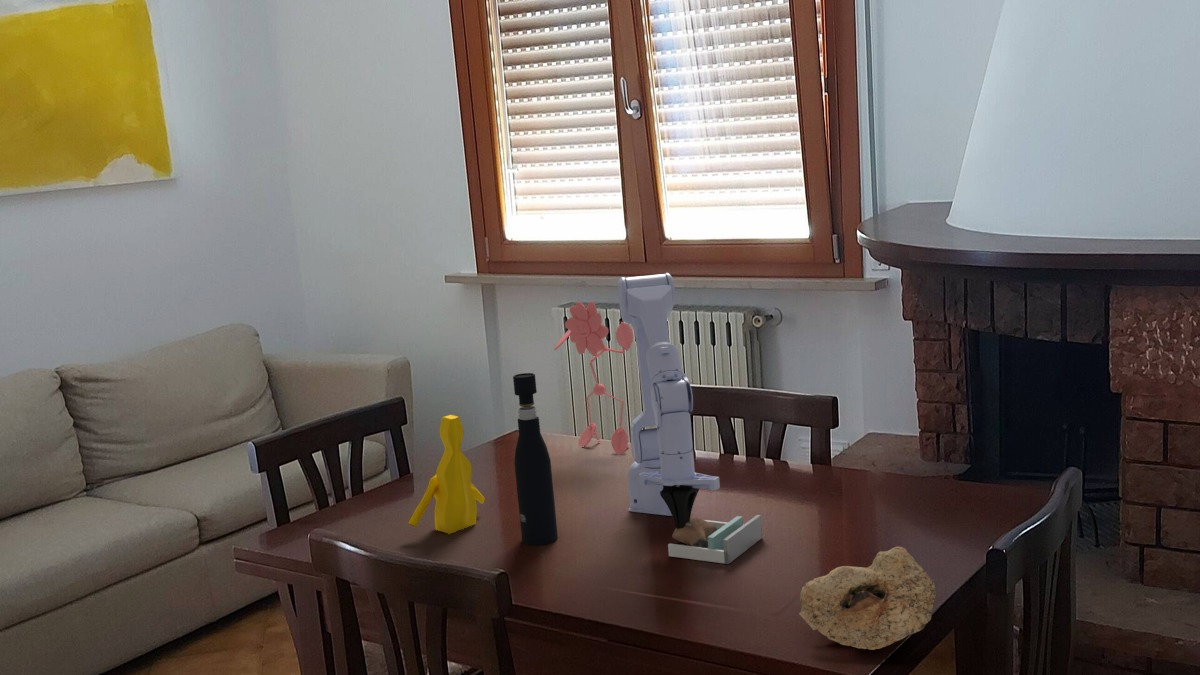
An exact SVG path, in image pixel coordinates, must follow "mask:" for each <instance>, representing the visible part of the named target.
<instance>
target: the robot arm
mask: <svg viewBox="0 0 1200 675" xmlns="http://www.w3.org/2000/svg"><path fill="white" fill-rule="evenodd" d="M674 283H675V282H674V279H673V276H672V275H671V274H670V273H669V272H665V273H663V274H662V273H660V274H650V275H639V276H631V277H623V276H621V277H620V278H619V280H617V296H618V303H619V311H620V312H619V314H620V317H621V318H622V319H621V320H622V321H621V322H624V323H626V324H628V325H629V324H630V325H631V328H632V331H633V334H634V337H635V345H636V355H637V364H638V373H639V374H638V375H639V384H640V389H641V390H640V392H641V400H642V401H641V402H642V409H643V410H642V412H641V413H640V414H639V415H637V416H636V417H635V418H634V419H633V420H632V421H631V423H630V424H631V425H630V447H631V455H632V458H633V461H634V462H633V463H632V464H631V465H630V467H629V469H628V470H629V471H628V474H627V475H628V476H627V479H628V480H627V481H628V482H627V483H628V492H629V493H628V494H629V506H630V507H629V508H628V511H629V512H630V513H631V512H633V513H642V514H649V515H650V514H651V515H657V516H659V515H660V516H667V517H668V516H669V517H672V519H673V522H674V525H675V529H679V528H684V526H685V524H686V523H687V522H689V521H690V519H691V515H692V510H693V506H694V504H695V500H696V498H697V496H698V493H699V491H700V490H709V491H711V492H715V491H717V490H719V489H720V488H721V484H720V476H715V475H714V476H713V475H708V474H704V473H698V472H696V470H695V469H696V468H695V459H694V447H693V446H694V445H693V433H692V432H693V431H692V422H691V421H692V420H691V413H692V412H693V410H694V408H693V407H694V398H693V396H694V395H693V389H692V386H691V382H690V380H689V378H688V377H687V374H686V373H684V369H683V365H682V361H681V358H680V357H681V356H680V353H679V352H680V351H679V349H678V347H676V346H675V345H674V344H672V343H670V334H669V327H668V326H669V325H668V318H670V317H671V314H672V311H673V308H674V304H675V302H676V289H675V284H674ZM654 426H656V427H655V428H648V427H654ZM644 428H645V429H644ZM646 428H647V429H646Z"/></svg>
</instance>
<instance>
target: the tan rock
mask: <svg viewBox="0 0 1200 675" xmlns="http://www.w3.org/2000/svg"><path fill="white" fill-rule="evenodd" d="M799 593H800V594H799V596H800V598H799V601H800V605H801V609H800V612H799V613H798V614H799V616H800V617H802V619H803V620H804V621H805V622H806V624H808V626H809V627H810V628H811V629H812V630H813V631H816V630H817V631H818V632H819V633H821V634H822V635H823V636H825V637H827V639H828V640H830V641H834V642H835V643H838V644H840V645H842V646H847V647H850V646H851V647H853V648H857V649H863V650H866V649H868V650H870V651H871V650H873V651H876V650H877V649H878V650H879V649H882V648H885V647H886V648H887V647H888V646H890V645H893V644H894V643H896V642H898V641H901V640H903V639H904V638H906V637H908V636H909V635H912V634H916V633H918V632H920V631H922V630H924V629H925V627H926V626H927V624H928V623H929V622H930V621H931V620H932V613H933V609H934V603H935V598H936V596H937V592H936V584H935V582H934V580H933V579H932V578H931V577H930V575H928V574H927V572H926V570H925V569H924V568H923V567H922V566H921V565H919V564H918V562H917V561H915V558H914V557H913V556H912V555H911V554H910V553H909V552H908V551H907V549H906V548H905V547H902V546H895V547H893V548H891V549H889V550H885V551H879V552H877V553H876V555H875V557H874V559H873V560H872V564H870V565H869V566H867V567H863V566H862V567H861V566H850V565H843V566H842V565H841V566H838V567H835V568H834V569H832V570H830V572H829V573H827V574H826V575H822V576H818V577H816V578H815V577H814V578H813V580H811V579H810V580H808V581H806V582H805V585H804V586H802V588H801V590H800V592H799Z"/></svg>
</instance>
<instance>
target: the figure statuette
mask: <svg viewBox="0 0 1200 675" xmlns="http://www.w3.org/2000/svg"><path fill="white" fill-rule="evenodd" d="M464 432H465V431H464V426H463V423H462V421H461V419H460V416H457V415H454V414H448V415H446V416H445V415H444V416H442V417H441V420H440V425H439V432H438V433H439V438H440V439H441V442H442V444H443V446H444V451H443V454H442V456H441V459H440V461H439V463H438V465H437V468H436V471H435V472H436V473H435V474H434V475H433V476H432V477H431V478H430V479H429V483H428V485H427V487H426V491H425V492H424V495H423V497H422V499H420V501H419V504H418V505H417V506H416V508H415V510H414V512H413V514H412V516H411V517H410V519H409V521H408V523H407V524H408V525H410V526H413V527H415V528H417V526H418V525H419V523H420V521H421V519H422V517H423V515H424V513H425V511H426V510H427V508H428V506H429V505H430V503H431V501H432V500H433V498H434V499H435V506H434V527H435V528H434V530H435V531H437V530H438V532H442V533H445V534H447V533H448V534H447V535H451V534H450V533H452V532H455V531H458V530H461V529H463V530H465V529H464V528H466V529H468V528H467V527H469V526H471V525H473V524H475V525H476V523H477V516H478V507H477V506H478V505H477V502H479V503H480V504H482V505H484V502H485V500H486V498H485V496H484V495H482V493H481V492H480V491H479V490H478V489H477V487H476V486H475V485H474V484H473V483H472V472H473V471H472V470H473V469H472V467H473V466H472V464H471V462H470V460H469V459H468V458H467V457H466V455H465V454H464V453H463V452H462V449H461V447H462V443H463V438H464ZM471 527H472V526H471ZM469 528H470V527H469ZM461 531H462V530H461ZM458 532H459V531H458ZM455 533H456V532H455Z"/></svg>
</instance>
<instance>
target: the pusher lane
mask: <svg viewBox="0 0 1200 675" xmlns="http://www.w3.org/2000/svg"><path fill="white" fill-rule="evenodd" d="M704 520H705V521H707V522H709V523H710V524H711V525H714V526H715V527H716V528H717V530H718V529H720V528H721V527H723V526H724V525H725V524H727V523H728V522H726V521H718V520H717V521H716V520H710V519H704ZM762 523H763V522H762V514H756V515H755V516H754V517H752V518H751V519H750V520H748V521H747V522H745V523H743V526H741V527H740V528H738V529H737V530H736V531H734V532H733V533H732V534H730V535H729V536H728V537H726V538H725V539H723V548H724V550H718V549H710V548H708V547H706V548H702V547H694V546H691V545H687V544H686V545H685V544H676V543H668V544H667V548H668V550H667V551H668V557H673V558H681V559H690V560H696V561H703V562H712V563H719V564H726V565H729V564H730V563H731V564H732V562H733V561H735V560H736V559H737V558H738V557H740V556H741V555H742V554H743V553H745V552H746V551H747V550H748V549H750V548H751V547H753V546H754V545H755V544H756V543H757V542H759V541H760V540H762V539H763V526H762V525H763V524H762Z"/></svg>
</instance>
